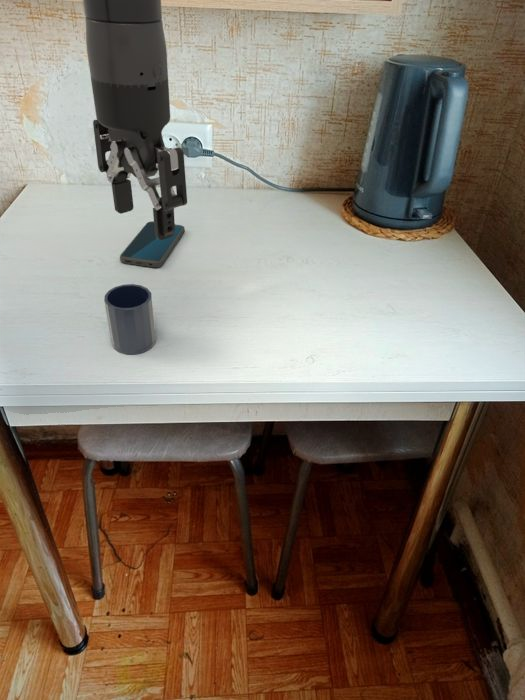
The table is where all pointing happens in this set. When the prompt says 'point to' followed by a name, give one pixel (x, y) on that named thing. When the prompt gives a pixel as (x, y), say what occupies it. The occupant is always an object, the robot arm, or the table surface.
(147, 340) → the pot
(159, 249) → the smartphone
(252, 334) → the table surface
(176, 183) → the robot arm
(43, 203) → the table surface
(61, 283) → the table surface
